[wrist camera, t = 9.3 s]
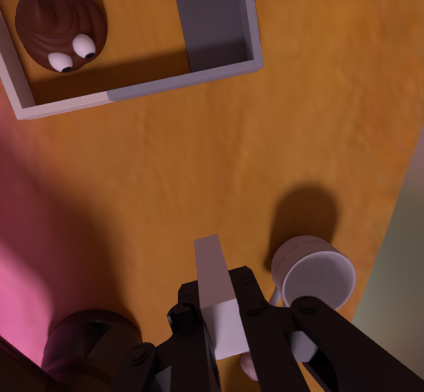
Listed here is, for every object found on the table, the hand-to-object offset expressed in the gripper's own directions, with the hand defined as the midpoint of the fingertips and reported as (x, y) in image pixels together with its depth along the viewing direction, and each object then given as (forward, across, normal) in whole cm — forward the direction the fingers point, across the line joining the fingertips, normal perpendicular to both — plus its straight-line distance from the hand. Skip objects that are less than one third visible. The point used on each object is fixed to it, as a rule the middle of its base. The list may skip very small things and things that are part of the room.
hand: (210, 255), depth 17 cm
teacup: (+23, +11, -18) cm, 31 cm away
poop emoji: (+24, -10, +22) cm, 33 cm away
